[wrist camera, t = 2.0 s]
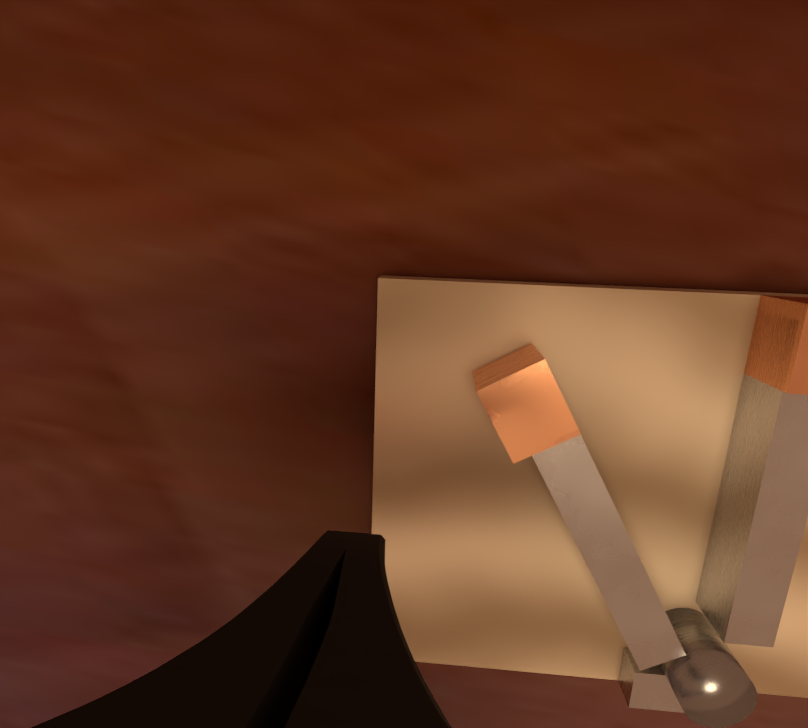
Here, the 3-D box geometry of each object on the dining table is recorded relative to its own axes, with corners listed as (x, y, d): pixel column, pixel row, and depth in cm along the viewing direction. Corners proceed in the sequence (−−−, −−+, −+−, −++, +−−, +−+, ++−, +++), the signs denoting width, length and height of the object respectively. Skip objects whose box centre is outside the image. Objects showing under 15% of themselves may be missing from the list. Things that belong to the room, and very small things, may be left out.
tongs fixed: (735, 690, 20) (781, 763, 17) (617, 680, 20) (645, 749, 17) (832, 298, 16) (911, 311, 13) (686, 291, 16) (734, 303, 14)
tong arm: (661, 612, 19) (688, 659, 17) (605, 632, 19) (625, 681, 17) (532, 343, 17) (545, 359, 15) (472, 371, 17) (476, 391, 15)
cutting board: (807, 674, 21) (829, 700, 20) (372, 635, 22) (368, 657, 21) (916, 298, 17) (950, 303, 16) (381, 275, 18) (378, 278, 17)
